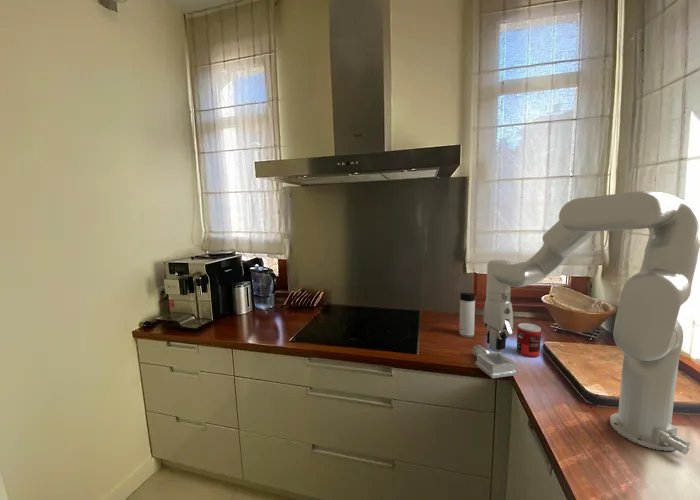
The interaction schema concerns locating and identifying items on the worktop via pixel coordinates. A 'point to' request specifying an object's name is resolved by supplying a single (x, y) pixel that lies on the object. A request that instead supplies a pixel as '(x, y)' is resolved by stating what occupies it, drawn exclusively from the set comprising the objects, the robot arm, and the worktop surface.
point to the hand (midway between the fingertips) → (495, 345)
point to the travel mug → (467, 314)
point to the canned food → (528, 340)
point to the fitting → (494, 363)
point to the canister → (493, 339)
